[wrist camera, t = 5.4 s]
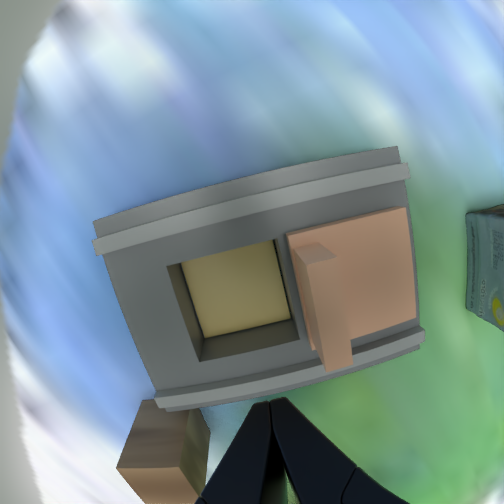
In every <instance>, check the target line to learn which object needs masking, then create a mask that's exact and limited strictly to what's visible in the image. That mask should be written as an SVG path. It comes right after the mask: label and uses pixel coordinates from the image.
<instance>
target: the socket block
mask: <svg viewBox="0 0 504 504" xmlns="http://www.w3.org/2000/svg"><path fill="white" fill-rule="evenodd" d="M409 178H410V173H409V168H408V163H401V160H400V156H399V151H398V147H397V146H394V147H388V148H382V149H376V150H370V151H364V152H359V153H353V154H348V155H343V156H337V157H332V158H327V159H322V160H317V161H312V162H308V163H303V164H298V165H294V166H289V167H285V168H280V169H276V170H271V171H267V172H263V173H259V174H254V175H250V176H246V177H242V178H238V179H234V180H230V181H226V182H222V183H219V184H215V185H211V186H207V187H204V188H200V189H196V190H193V191H189V192H185V193H182V194H178V195H175V196H171V197H168V198H165V199H161V200H158V201H154V202H151V203H148V204H145V205H141V206H138V207H135V208H132V209H129V210H125V211H122V212H119V213H116V214H113V215H110V216H107V217H104V218H101V219H98V220H95V221H93V224H94V228H95V231H96V235H97V239H94V240H92V243H93V246H94V250H95V253H96V256H98V255H103V258H104V261H105V264H106V267H107V270H108V273H109V276H110V279H111V282H112V285H113V288H114V291H115V294H116V296H117V299H118V302H119V305H120V307H121V310H122V313H123V315H124V318H125V320H126V323H127V325H128V328H129V330H130V333H131V335H132V338H133V340H134V343H135V345H136V347H137V350H138V352H139V354H140V357H141V359H142V361H143V364H144V366H145V368H146V370H147V372H148V375H149V377H150V379H151V381H152V383H153V385H154V387H155V389H156V394H155V397H154V399H155V401H156V403H157V405H158V407H159V408H165V410H166V412H173V411H181V410H188V409H195V408H202V407H208V406H215V405H221V404H226V403H232V402H237V401H242V400H247V399H252V398H257V397H262V396H266V395H271V394H275V393H280V392H284V391H288V390H292V389H296V388H300V387H304V386H308V385H311V384H315V383H319V382H322V381H326V380H329V379H333V378H336V377H340V376H343V375H346V374H349V373H353V372H356V371H359V370H362V369H365V368H368V367H371V366H374V365H377V364H380V363H383V362H385V361H388V360H391V359H394V358H397V357H399V356H402V355H405V354H407V353H410V352H412V351H415V350H417V349H420V343H423V342H425V330H424V329H423V328H422V327H421V326H420V325H419V300H418V283H417V270H416V259H415V249H414V240H413V232H412V224H411V217H410V210H409V204H408V198H407V192H406V186H405V181H404V179H409ZM396 206H401V207H406V213H407V220H408V227H409V235H410V243H411V252H412V261H413V272H414V285H415V302H416V318H413V319H411V320H408V321H405V322H402V323H399V324H397V325H394V326H391V327H388V328H385V329H382V330H379V331H376V332H373V333H370V334H367V335H364V336H360V337H357V338H354V339H351V340H350V341H351V349H352V358H353V365H350V366H347V367H344V368H340V369H337V370H334V371H330V372H327V373H326V371H325V368H324V366H323V364H322V362H321V359H320V357H319V355H318V353H317V350H313V351H312V349H311V347H310V344H309V341H308V336H307V331H306V326H305V321H304V316H303V311H302V306H301V301H300V297H299V292H298V287H297V283H296V278H295V273H294V269H293V264H292V260H291V255H290V251H289V246H288V242H287V238H286V233H289V232H293V231H297V230H301V229H305V228H309V227H313V226H317V225H321V224H325V223H330V222H334V221H338V220H342V219H346V218H350V217H354V216H359V215H363V214H367V213H371V212H375V211H379V210H384V209H388V208H392V207H396ZM273 239H274V242H275V246H276V250H277V255H278V259H279V263H280V268H281V272H282V276H283V281H284V285H285V289H286V294H287V298H288V303H289V307H290V312H291V316H292V317H291V318H290V313H289V309H288V304H287V300H286V296H285V291H284V287H283V283H282V278H281V274H280V270H279V265H278V261H277V257H276V252H275V248H274V244H273ZM181 265H182V267H181ZM182 269H183V270H182ZM183 272H184V273H183ZM184 275H185V277H184ZM185 278H186V280H185ZM186 282H187V283H186ZM187 285H188V286H187ZM188 288H189V289H188ZM189 291H190V293H189ZM190 294H191V296H190ZM191 298H192V299H191ZM192 301H193V302H192ZM193 304H194V305H193ZM194 307H195V308H194ZM195 310H196V311H195ZM196 313H197V314H196ZM197 316H198V317H197ZM198 319H199V320H198ZM199 322H200V323H199ZM200 325H201V326H200ZM201 328H202V329H201ZM202 331H203V332H202ZM203 334H204V335H203ZM204 337H205V338H204Z"/></svg>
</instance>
